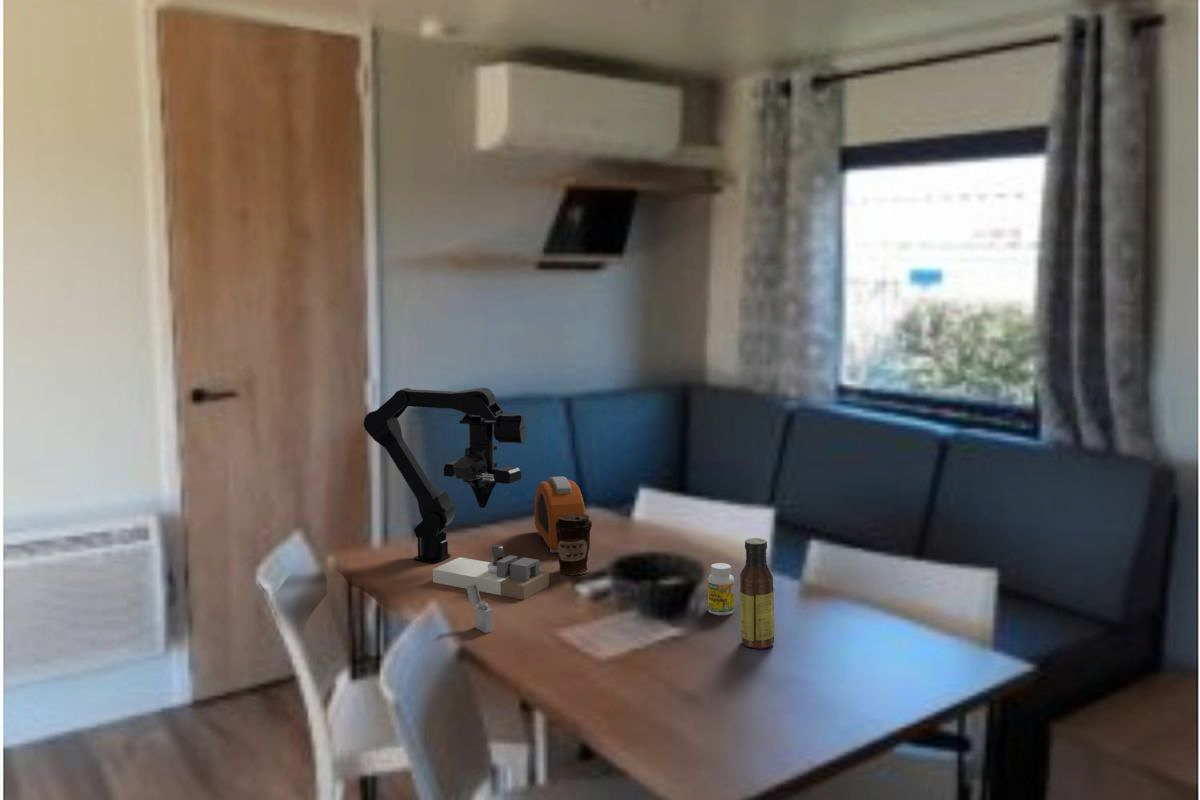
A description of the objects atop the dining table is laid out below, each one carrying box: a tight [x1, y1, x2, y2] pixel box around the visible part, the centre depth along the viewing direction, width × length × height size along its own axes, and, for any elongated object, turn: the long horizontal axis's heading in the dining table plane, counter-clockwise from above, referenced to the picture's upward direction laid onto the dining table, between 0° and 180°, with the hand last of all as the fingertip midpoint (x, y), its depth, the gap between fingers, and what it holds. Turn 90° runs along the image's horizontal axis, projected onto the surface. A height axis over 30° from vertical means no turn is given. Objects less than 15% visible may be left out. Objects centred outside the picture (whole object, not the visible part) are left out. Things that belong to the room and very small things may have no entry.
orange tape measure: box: [534, 475, 587, 553], centre depth 252 cm, size 23×9×17 cm, turn 14°
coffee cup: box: [555, 514, 593, 576], centre depth 229 cm, size 9×8×13 cm
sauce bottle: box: [739, 537, 776, 650], centre depth 186 cm, size 6×6×20 cm
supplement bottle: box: [707, 562, 735, 616], centre depth 204 cm, size 5×5×10 cm
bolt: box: [488, 544, 531, 577], centre depth 218 cm, size 10×2×6 cm, turn 62°
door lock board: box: [432, 554, 550, 600], centre depth 221 cm, size 24×10×6 cm, turn 62°
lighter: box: [465, 584, 494, 634], centre depth 196 cm, size 7×2×8 cm, turn 39°
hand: (482, 507), depth 236 cm, fingers closed
